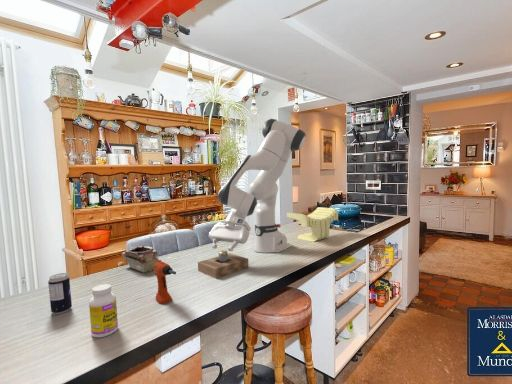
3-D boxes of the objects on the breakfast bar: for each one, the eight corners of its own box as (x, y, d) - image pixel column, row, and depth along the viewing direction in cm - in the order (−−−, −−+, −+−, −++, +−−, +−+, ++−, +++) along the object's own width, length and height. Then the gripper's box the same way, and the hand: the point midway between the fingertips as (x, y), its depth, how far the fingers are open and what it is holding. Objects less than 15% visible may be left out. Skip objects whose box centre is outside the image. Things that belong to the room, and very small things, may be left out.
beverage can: (74, 310, 93) (71, 274, 92) (53, 317, 89) (50, 280, 88) (69, 305, 97) (66, 271, 96) (49, 311, 92) (45, 276, 92)
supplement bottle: (103, 340, 74) (99, 293, 74) (85, 336, 77) (82, 290, 76) (123, 327, 81) (120, 284, 80) (106, 323, 83) (103, 281, 82)
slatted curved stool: (307, 245, 161) (306, 214, 160) (288, 240, 174) (286, 212, 173) (338, 236, 180) (337, 208, 179) (318, 232, 193) (318, 207, 191)
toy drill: (172, 313, 85) (166, 265, 85) (153, 300, 99) (149, 260, 100) (186, 308, 88) (181, 262, 88) (166, 296, 102) (162, 257, 102)
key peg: (224, 267, 129) (224, 250, 129) (230, 269, 127) (229, 251, 126) (217, 269, 127) (216, 252, 126) (222, 271, 124) (221, 253, 123)
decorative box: (132, 277, 121) (130, 255, 120) (115, 268, 135) (113, 248, 134) (160, 269, 130) (159, 249, 130) (142, 261, 144) (140, 243, 144)
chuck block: (230, 261, 138) (229, 253, 138) (248, 267, 128) (248, 258, 127) (198, 270, 126) (197, 262, 126) (215, 278, 116) (215, 269, 115)
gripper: (213, 218, 137) (200, 243, 129) (248, 221, 126) (236, 247, 118) (219, 226, 141) (207, 250, 133) (254, 228, 130) (243, 255, 122)
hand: (221, 249), depth 126 cm, fingers open, 8 cm apart
